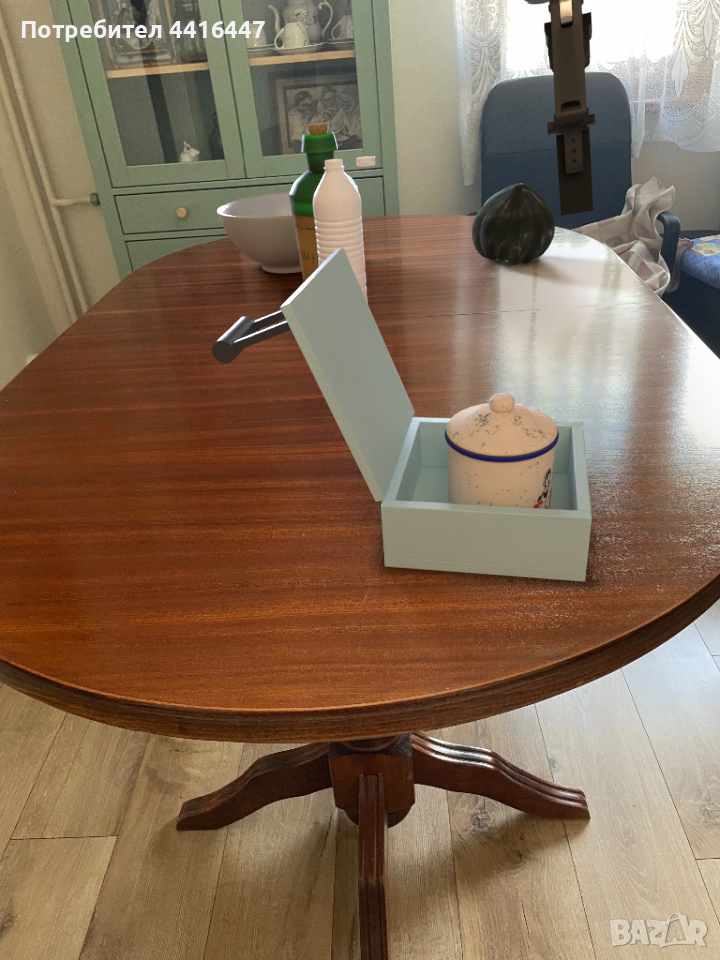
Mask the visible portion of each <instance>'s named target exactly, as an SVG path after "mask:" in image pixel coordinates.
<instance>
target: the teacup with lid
mask: <svg viewBox="0 0 720 960" xmlns="http://www.w3.org/2000/svg"><path fill="white" fill-rule="evenodd" d="M554 421H555V420H554V419H553V418H552V417H551V416H550V415H549V414H548V413H546V412H544V411H543V410H540V409H539V408H536V407H533V406H529V405H526V404H521V403H517V402H516V399H515V397H514V396H513V395H511V394H510V393H505V392H497V393H495V394H493V395H491V396H490V398H489V400H488V402H486V403H480V404H476V405H472V406H469V407H466V408H464V409H462V410H460V411H458V412H457V413H455V414H454V415H453V416H452V417H451V419H450V421H449V422H448V424H447V427H446V430H445V439H446V441H447V443H448V503H449V504H467V505H485V506H503V507H521V508H539V509H550V505H551V492H552V478H553V465H554V451H555V445H556V444H557V442H558V439H559V432H558V429H557V426H556V424H555V422H554Z"/></svg>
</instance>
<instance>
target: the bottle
mask: <svg viewBox="0 0 720 960" xmlns="http://www.w3.org/2000/svg"><path fill="white" fill-rule="evenodd" d="M305 126H306V128H307V133H303V134H302V138H301V139H302V141H301V149H300V153H303V154H305V159H306V164H307V165H306V166H307V169H308V170H306V171H304V172H303V173H302V174H301V175H299V177H298V178H297V179H296V180H295V181H294V182H293V184H292V186H291V189H290V190H289V192H290V193H289V198H290V204H291V210H292V216H293V222H294V228H295V234H296V240H297V246H298V252H299V258H300V264H301V270H302V272H301V275H302V280H303V283H304V282H305V281H306V280H307V279H308V278H309V277H310V276H311V275H312V274H313V273H314V272H315V270H316V269H317V268H318V267H319V261H318V257H319V256H318V249H317V237H316V230H315V226H316V225H315V218H314V212H313V197H314V194H315V192H316V189H317V187H318V185H319V183H320V181H321V179H322V177H323V175H324V173H325V169H324V167H325V160H330V159H335V151H337V150H338V149H339V147H338V143H337V139H336V136H335V132H334V131H329V122H313V123H307V124H306V125H305ZM346 175H347V176H348V177H349V179H350V180H351V182H352V183H353V184H354V186H355V187H356V189H357V190H358V191H359V189H358V185H357V184H356V182H355V180H354V179H353V178H352V177H351V176H350V175H348V174H347V173H346Z"/></svg>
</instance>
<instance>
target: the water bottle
mask: <svg viewBox="0 0 720 960" xmlns="http://www.w3.org/2000/svg"><path fill="white" fill-rule="evenodd" d="M355 162H356V163H355V165H356V167H359V168H361V167H362V168H363V167H372V166H375V165H376V156H375V155H364V156H358V157H356V158H355ZM343 164H344V163H343V159H342V158H334V159H330V160H325V167H324V169H325V173H324V175H323V177H322V179H321V181H320V183H319V185H318V187H317V189H316V192H315V194H314V197H313V212H314V218H315V225H316V226H315V230H316V237H317V249H318V256H319V257H318V261H319V266H320V265H321V264H322V263H323V262H324V261H325V260H326V259H327V258H328V257H329V256H330V255H331V254H332V253H333V252H334V251H335V250H336V249H339V248H341V247H343V249H344V251H345V253H346V256H347V258H348V260H349V262H350V265H351V267H352V269H353V272H354V274H355V276H356V278H357V281H358V283H359V285H360V288H361V290H362V292H363V294H364V297H365V299H366V301H367V304H368V305H369V300H368V288H367V285H366V284H367V273H366V259H365V258H366V257H365V253H364V252H365V247H364V243H365V242H364V234H363V233H364V231H363V222H362V221H363V217H362V216H363V215H362V199H361V195H360V192H359V189H358V190H357V189H356V187H355V186H354V184H353V183H352V182H351V180H350V179H349V177H348V176H347V175H348V174H347V173H346V171H345V170H344V168H345V165H343ZM346 174H347V175H346Z"/></svg>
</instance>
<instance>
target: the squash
mask: <svg viewBox="0 0 720 960" xmlns="http://www.w3.org/2000/svg"><path fill="white" fill-rule="evenodd" d="M555 227H556V226H555V217H554V214H553V212H552V210H551V209H550V207H549V204H548V203H547V202H546V200H545V198H544V197H543V196H542V195H541V194H540V193H539V192H538V191H536V190H535V189H534V188H533V187H531V186H530V185H528V184H526V183H521V182H520V183H519V182H518V183H515V184H512V185H509V186H506V187H505V188H503V189H501V190H499V191H497V192H496V193H494V194H493V195H492V196H490V197H489V198H488V199H487V200H486V201H485V203H484V204H483V205H482V206H481V207H480V209H479V210H478V211H477V213H476V215H475V217H474V219H473V222H472V226H471V239H472V242H473V243H472V244H473V246H474V248H475V250H476V252H477V253H478V254H479V255H480V256H481V257H483V258H485V259H488V260H490V261H498V262H500V263H501V262H502V263H503V262H505V261H506V262H507V263H508V264H510V265H512V266H518V265H520V264H524V265H527V264H530V263H533V262H534V261H535V260H537V259H540V257H542V256H543V255H545V253H546V252H547V250H548V249H549V248H550V246H551V244H552V242H553V240H554V237H555V232H556V231H555V230H556V228H555Z"/></svg>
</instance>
